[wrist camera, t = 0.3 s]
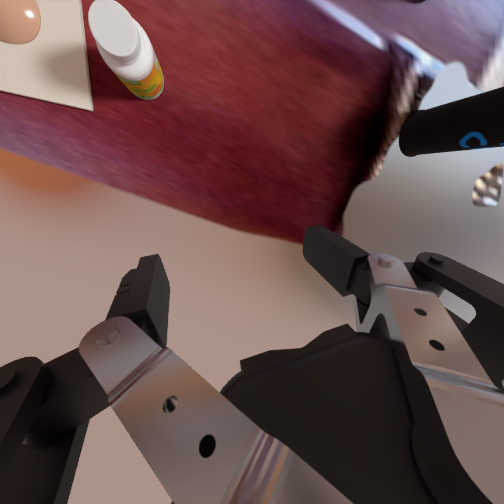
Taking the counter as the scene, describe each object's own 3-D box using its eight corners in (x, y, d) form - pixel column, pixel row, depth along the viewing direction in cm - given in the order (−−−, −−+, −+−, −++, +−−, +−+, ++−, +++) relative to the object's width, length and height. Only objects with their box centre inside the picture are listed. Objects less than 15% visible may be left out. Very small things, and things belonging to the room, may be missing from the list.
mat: (-133, -160, 17) (-145, -171, 16) (73, -72, 21) (69, -79, 20) (-57, 78, 22) (-63, 76, 22) (93, 111, 26) (91, 110, 26)
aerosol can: (404, 109, 36) (603, 43, 18) (438, 111, 38) (649, 52, 20) (393, 156, 39) (553, 141, 21) (424, 156, 41) (597, 142, 23)
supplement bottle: (132, 103, 27) (97, 69, 18) (113, 54, 25) (64, -12, 16) (170, 97, 28) (154, 61, 19) (155, 48, 26) (129, -17, 17)
